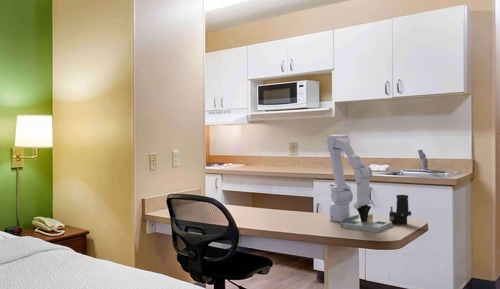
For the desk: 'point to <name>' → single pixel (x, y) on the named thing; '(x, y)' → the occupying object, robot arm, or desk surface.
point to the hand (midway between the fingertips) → (363, 221)
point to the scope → (400, 211)
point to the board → (365, 224)
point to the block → (369, 218)
